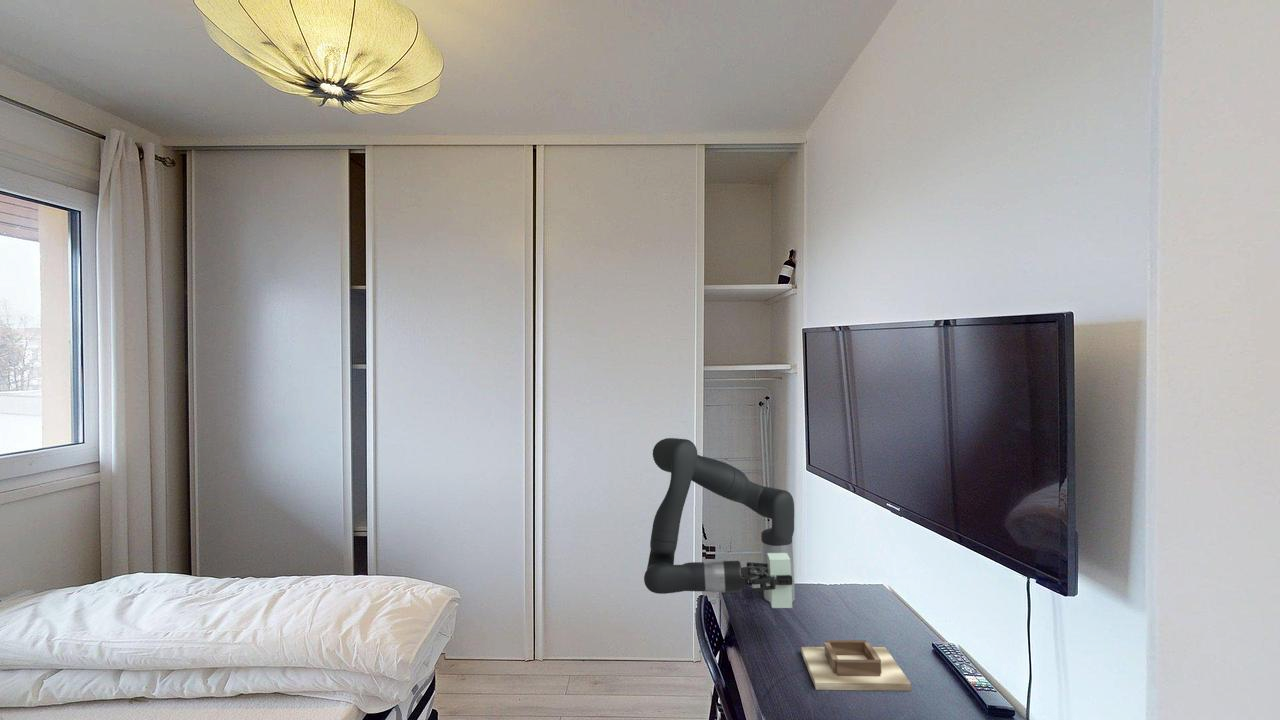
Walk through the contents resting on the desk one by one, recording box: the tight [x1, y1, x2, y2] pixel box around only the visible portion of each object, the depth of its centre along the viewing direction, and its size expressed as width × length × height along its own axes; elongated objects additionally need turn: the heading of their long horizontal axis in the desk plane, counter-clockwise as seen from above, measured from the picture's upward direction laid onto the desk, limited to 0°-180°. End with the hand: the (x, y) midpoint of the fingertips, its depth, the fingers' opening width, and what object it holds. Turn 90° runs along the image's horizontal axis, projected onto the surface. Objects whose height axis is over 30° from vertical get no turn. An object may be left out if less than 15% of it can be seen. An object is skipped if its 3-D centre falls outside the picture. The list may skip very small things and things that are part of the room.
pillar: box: [767, 553, 793, 609], centre depth 143 cm, size 5×5×12 cm
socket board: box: [800, 639, 912, 692], centre depth 129 cm, size 16×20×4 cm
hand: (789, 575), depth 143 cm, fingers closed on pillar, 5 cm apart
